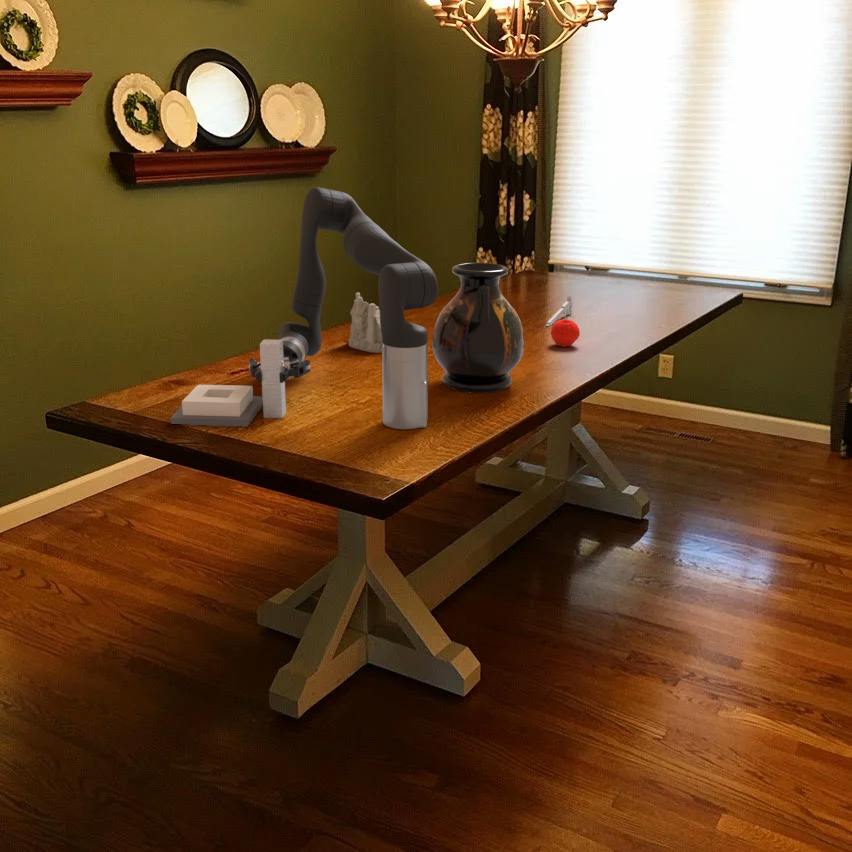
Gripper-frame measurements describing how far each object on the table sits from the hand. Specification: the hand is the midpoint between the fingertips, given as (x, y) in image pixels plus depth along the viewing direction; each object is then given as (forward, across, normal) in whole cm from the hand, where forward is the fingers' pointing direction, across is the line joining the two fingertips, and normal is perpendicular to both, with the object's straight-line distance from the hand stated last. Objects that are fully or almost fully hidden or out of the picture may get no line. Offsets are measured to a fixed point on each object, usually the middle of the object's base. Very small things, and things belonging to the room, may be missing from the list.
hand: (270, 377), depth 194 cm
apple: (-68, +67, +9) cm, 96 cm away
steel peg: (-3, 0, +9) cm, 9 cm away
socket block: (-3, -12, +9) cm, 15 cm away
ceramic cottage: (-65, +16, +9) cm, 68 cm away
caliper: (-100, +68, +10) cm, 121 cm away
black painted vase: (-29, +43, +9) cm, 53 cm away
